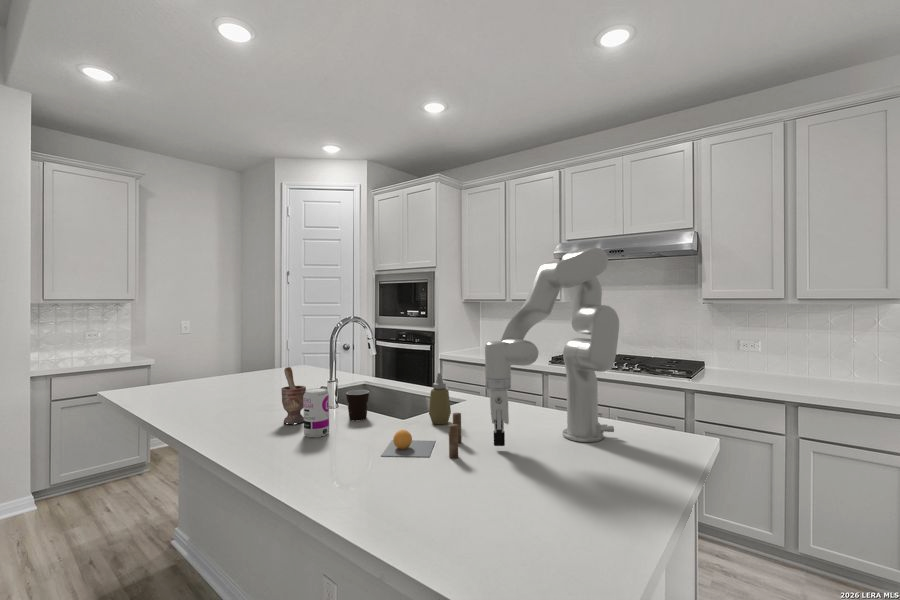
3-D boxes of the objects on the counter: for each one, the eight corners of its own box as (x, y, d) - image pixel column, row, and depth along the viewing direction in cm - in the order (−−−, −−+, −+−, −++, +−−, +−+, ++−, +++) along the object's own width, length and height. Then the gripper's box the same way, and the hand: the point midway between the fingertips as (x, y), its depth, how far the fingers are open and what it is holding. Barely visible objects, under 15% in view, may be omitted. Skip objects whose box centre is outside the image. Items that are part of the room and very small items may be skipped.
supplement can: (332, 431, 150) (332, 387, 150) (323, 438, 142) (322, 393, 142) (310, 430, 151) (309, 387, 151) (299, 438, 143) (299, 392, 143)
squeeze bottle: (441, 427, 153) (441, 376, 153) (424, 423, 158) (423, 374, 158) (455, 421, 159) (454, 372, 159) (438, 418, 164) (437, 370, 164)
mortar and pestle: (271, 422, 162) (270, 369, 162) (291, 417, 170) (290, 366, 170) (291, 426, 156) (291, 371, 156) (311, 421, 164) (310, 368, 164)
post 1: (461, 441, 137) (461, 412, 137) (461, 443, 135) (460, 414, 135) (453, 440, 138) (453, 412, 138) (452, 443, 135) (452, 414, 135)
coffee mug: (364, 422, 161) (363, 395, 161) (342, 421, 163) (342, 394, 163) (375, 413, 172) (375, 388, 172) (355, 413, 174) (355, 388, 174)
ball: (397, 447, 134) (415, 443, 134) (393, 453, 129) (411, 450, 128) (393, 429, 134) (411, 426, 134) (389, 435, 129) (408, 431, 128)
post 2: (458, 455, 125) (458, 424, 125) (458, 458, 122) (457, 426, 122) (449, 455, 125) (449, 423, 125) (448, 458, 122) (448, 426, 123)
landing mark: (435, 441, 138) (435, 440, 138) (429, 457, 124) (429, 456, 124) (392, 440, 139) (392, 440, 139) (380, 456, 125) (380, 455, 125)
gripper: (512, 388, 121) (513, 454, 121) (509, 378, 136) (510, 437, 136) (485, 388, 122) (486, 453, 122) (485, 378, 137) (486, 437, 137)
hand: (499, 444), depth 129 cm, fingers closed
